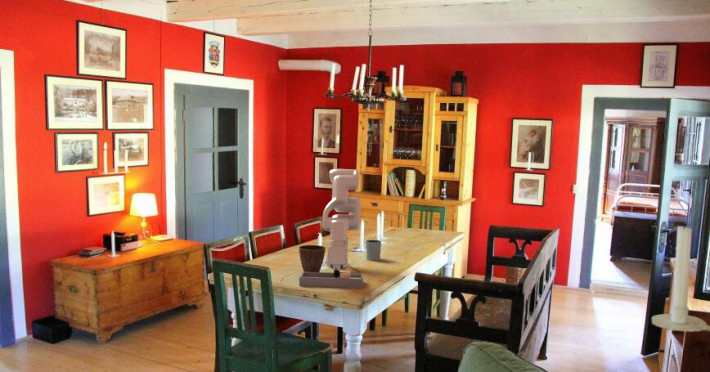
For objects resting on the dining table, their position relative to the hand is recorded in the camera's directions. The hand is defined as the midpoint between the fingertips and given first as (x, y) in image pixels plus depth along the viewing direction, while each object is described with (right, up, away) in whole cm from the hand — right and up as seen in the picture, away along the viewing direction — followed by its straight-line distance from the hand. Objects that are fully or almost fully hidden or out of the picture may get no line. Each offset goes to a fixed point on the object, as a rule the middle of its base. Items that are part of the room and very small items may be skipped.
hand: (336, 277), depth 299 cm
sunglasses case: (+6, -3, +18) cm, 20 cm away
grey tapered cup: (+21, +1, +62) cm, 65 cm away
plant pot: (-15, -2, +17) cm, 23 cm away
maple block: (+5, -1, 0) cm, 5 cm away
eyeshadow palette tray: (-3, -4, +1) cm, 5 cm away
